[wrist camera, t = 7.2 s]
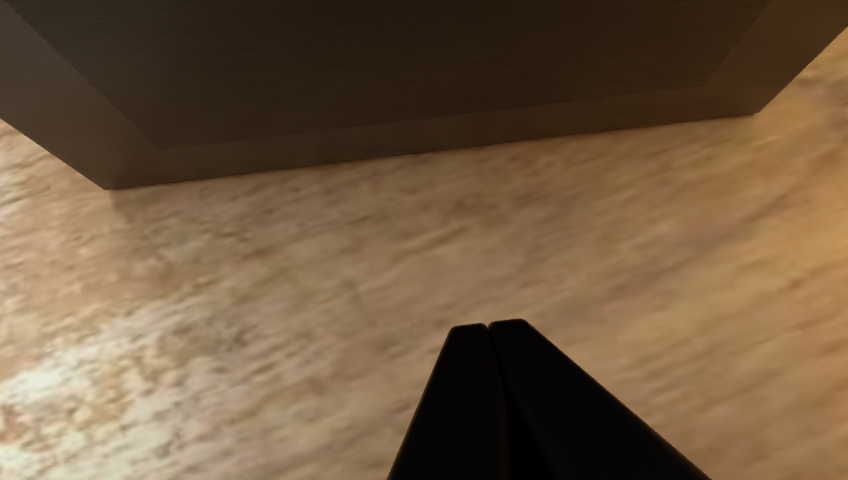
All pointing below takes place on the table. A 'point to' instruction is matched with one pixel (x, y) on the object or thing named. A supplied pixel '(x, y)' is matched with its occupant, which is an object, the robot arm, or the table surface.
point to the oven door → (377, 75)
